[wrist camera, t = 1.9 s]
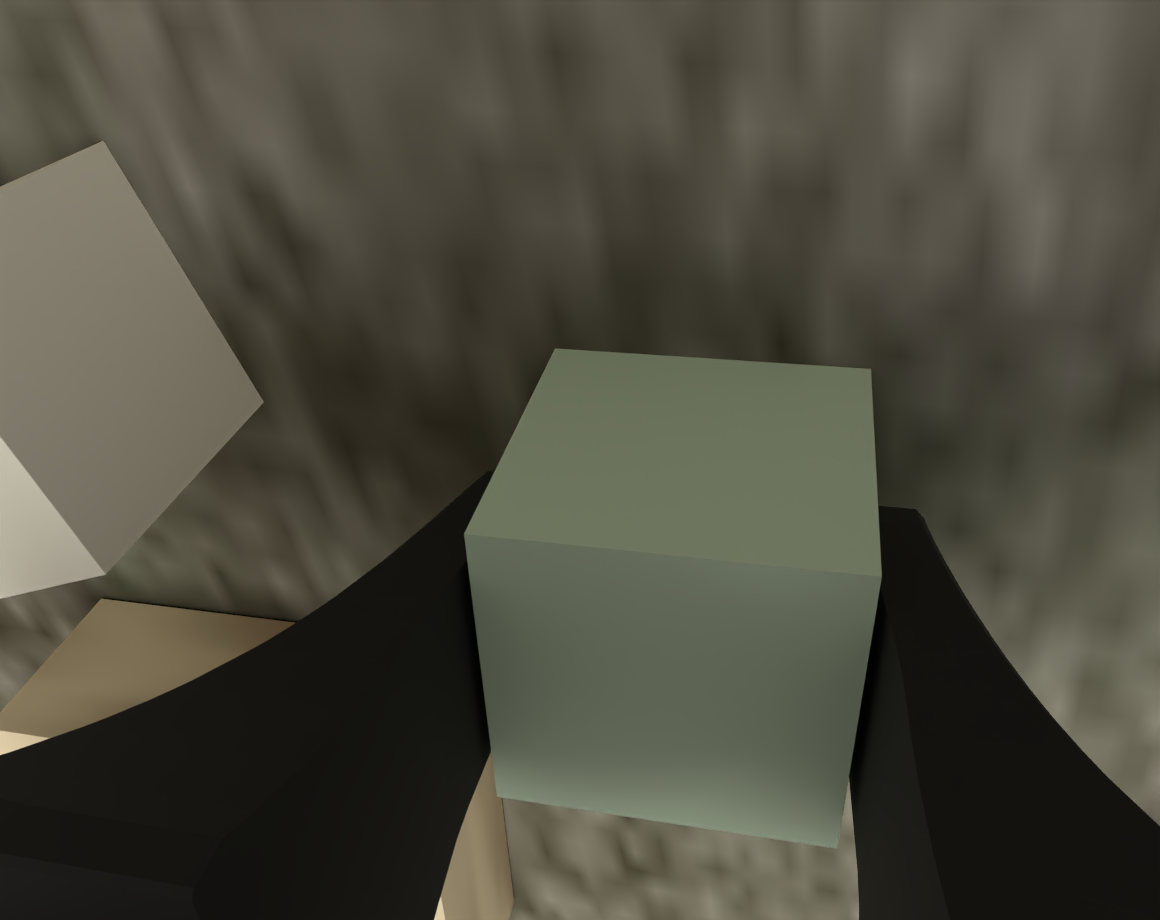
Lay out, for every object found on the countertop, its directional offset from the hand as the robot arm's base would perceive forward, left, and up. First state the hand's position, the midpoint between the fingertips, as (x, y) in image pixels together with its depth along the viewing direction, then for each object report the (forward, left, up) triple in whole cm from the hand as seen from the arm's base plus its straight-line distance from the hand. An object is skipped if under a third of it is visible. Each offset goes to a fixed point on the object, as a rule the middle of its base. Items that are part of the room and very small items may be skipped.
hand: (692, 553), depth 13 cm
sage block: (0, 0, -2) cm, 2 cm away
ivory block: (+9, -2, -2) cm, 9 cm away
